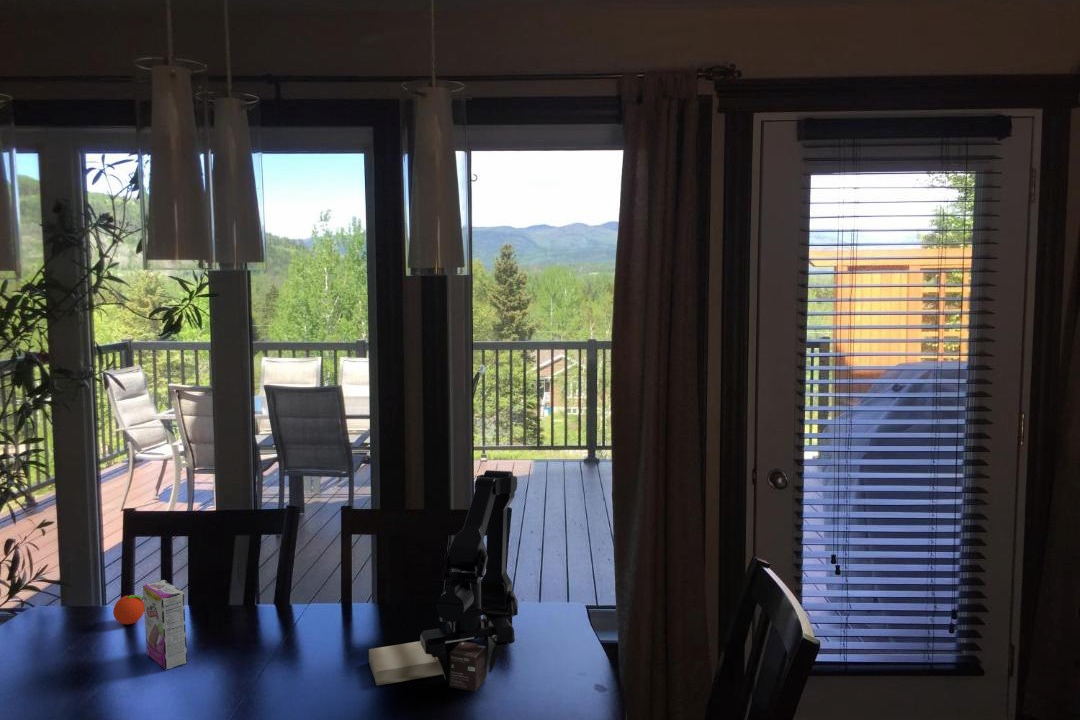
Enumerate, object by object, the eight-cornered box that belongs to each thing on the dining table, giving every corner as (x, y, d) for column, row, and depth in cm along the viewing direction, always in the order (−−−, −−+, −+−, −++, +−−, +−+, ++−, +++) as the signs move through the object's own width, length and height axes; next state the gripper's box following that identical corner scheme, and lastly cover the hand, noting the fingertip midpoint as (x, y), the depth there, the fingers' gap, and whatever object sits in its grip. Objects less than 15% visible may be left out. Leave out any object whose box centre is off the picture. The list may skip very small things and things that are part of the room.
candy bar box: (144, 656, 174) (141, 584, 173) (167, 648, 178) (164, 578, 177) (164, 672, 167) (161, 597, 166) (188, 663, 171) (185, 591, 169)
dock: (432, 652, 175) (431, 638, 175) (443, 674, 165) (443, 659, 165) (369, 662, 171) (368, 648, 170) (376, 685, 160) (376, 670, 160)
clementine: (152, 615, 197) (151, 588, 196) (146, 626, 190) (145, 598, 190) (117, 619, 195) (116, 591, 194) (110, 630, 188) (109, 602, 188)
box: (448, 687, 160) (447, 652, 159) (461, 674, 165) (460, 640, 165) (475, 692, 158) (474, 657, 157) (487, 678, 163) (487, 644, 163)
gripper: (498, 583, 171) (499, 651, 172) (414, 594, 164) (415, 666, 166) (514, 601, 160) (515, 674, 162) (425, 614, 154) (426, 690, 155)
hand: (468, 675), depth 161 cm, fingers open, 9 cm apart
